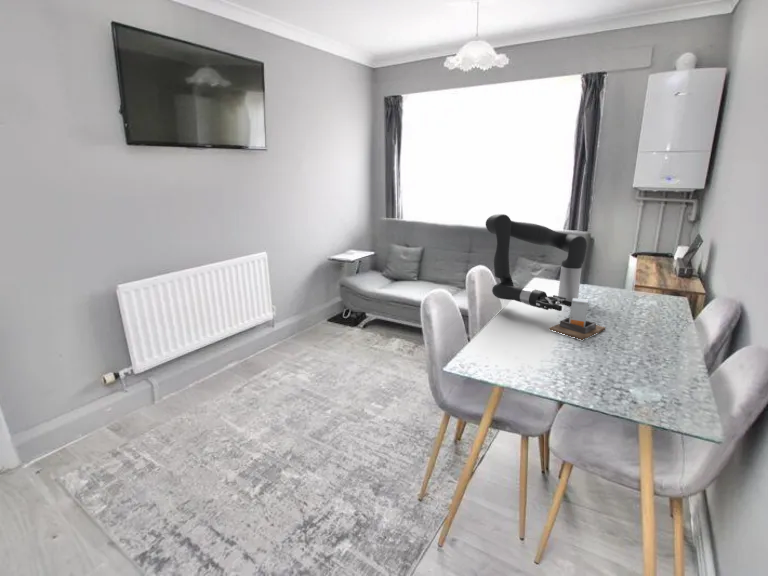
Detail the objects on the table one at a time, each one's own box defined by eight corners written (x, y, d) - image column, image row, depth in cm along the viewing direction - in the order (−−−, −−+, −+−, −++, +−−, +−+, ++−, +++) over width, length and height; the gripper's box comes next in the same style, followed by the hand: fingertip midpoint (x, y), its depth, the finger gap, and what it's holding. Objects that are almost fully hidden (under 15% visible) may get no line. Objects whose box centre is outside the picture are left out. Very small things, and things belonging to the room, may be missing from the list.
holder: (572, 320, 174) (573, 313, 173) (605, 330, 163) (606, 322, 162) (549, 330, 163) (549, 322, 162) (582, 341, 153) (583, 332, 152)
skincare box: (568, 328, 162) (571, 300, 159) (569, 324, 166) (572, 297, 163) (584, 330, 159) (588, 302, 156) (585, 327, 163) (589, 299, 160)
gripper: (524, 292, 172) (558, 301, 160) (543, 286, 180) (577, 294, 168) (522, 308, 174) (556, 318, 162) (541, 302, 182) (575, 311, 170)
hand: (567, 306), depth 165 cm, fingers open, 8 cm apart
